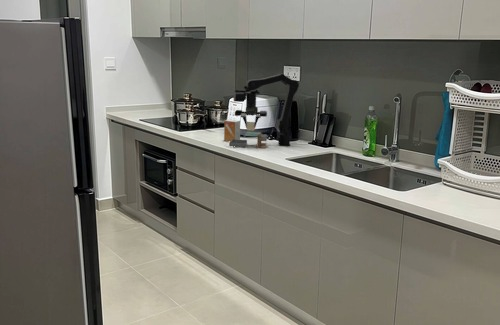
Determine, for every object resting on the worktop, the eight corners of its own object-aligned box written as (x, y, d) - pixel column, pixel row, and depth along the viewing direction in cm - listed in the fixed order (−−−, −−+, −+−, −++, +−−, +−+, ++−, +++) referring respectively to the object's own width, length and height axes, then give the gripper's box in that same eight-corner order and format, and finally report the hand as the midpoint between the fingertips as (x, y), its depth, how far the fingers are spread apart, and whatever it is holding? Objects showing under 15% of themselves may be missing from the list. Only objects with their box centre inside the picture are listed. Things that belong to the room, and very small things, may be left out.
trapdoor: (266, 138, 291) (267, 132, 290) (266, 141, 282) (266, 135, 281) (246, 138, 292) (246, 131, 291) (245, 140, 283) (245, 134, 282)
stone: (254, 129, 288) (254, 122, 287) (254, 130, 284) (254, 123, 282) (247, 129, 288) (247, 121, 287) (246, 130, 284) (246, 122, 283)
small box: (223, 141, 301) (224, 120, 298) (229, 139, 306) (229, 119, 303) (234, 142, 297) (235, 121, 294) (240, 141, 302) (240, 120, 300)
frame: (266, 144, 294) (266, 132, 292) (265, 148, 281) (265, 135, 279) (258, 144, 294) (258, 131, 292) (256, 148, 281) (257, 135, 280)
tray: (246, 143, 294) (246, 139, 293) (245, 147, 283) (245, 143, 282) (231, 143, 295) (231, 139, 294) (229, 146, 283) (229, 142, 283)
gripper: (233, 102, 275) (233, 129, 279) (266, 103, 274) (265, 130, 277) (236, 100, 286) (235, 126, 289) (267, 101, 284) (266, 127, 288)
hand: (250, 127), depth 286 cm, fingers closed on stone, 5 cm apart
